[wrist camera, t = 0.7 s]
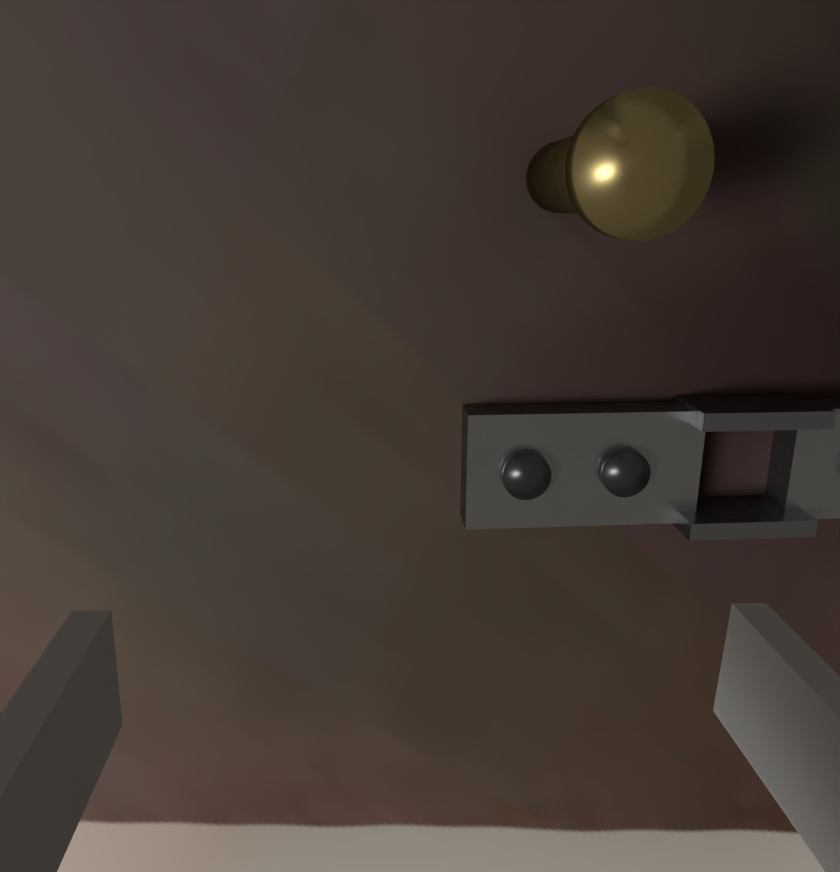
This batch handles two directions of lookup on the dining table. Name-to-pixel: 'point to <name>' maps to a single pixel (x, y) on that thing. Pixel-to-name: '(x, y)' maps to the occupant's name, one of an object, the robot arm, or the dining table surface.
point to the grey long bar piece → (647, 465)
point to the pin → (629, 166)
